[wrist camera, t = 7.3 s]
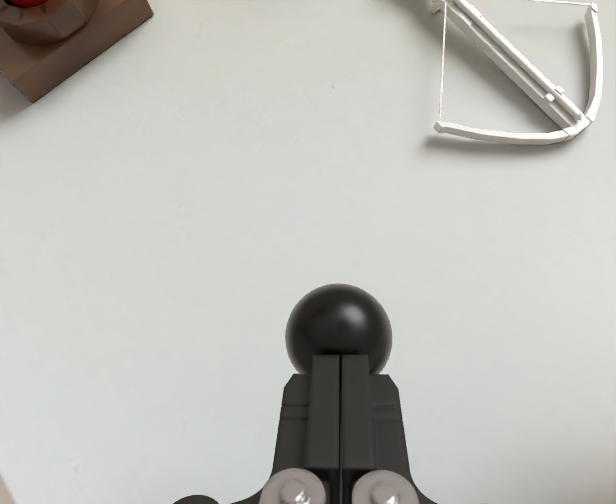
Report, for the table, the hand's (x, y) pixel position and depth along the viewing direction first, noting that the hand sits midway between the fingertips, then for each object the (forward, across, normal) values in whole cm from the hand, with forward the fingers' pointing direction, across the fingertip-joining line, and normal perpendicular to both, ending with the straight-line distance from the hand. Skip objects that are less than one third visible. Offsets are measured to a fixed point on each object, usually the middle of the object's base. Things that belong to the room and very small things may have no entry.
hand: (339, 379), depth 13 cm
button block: (+26, +19, -8) cm, 33 cm away
